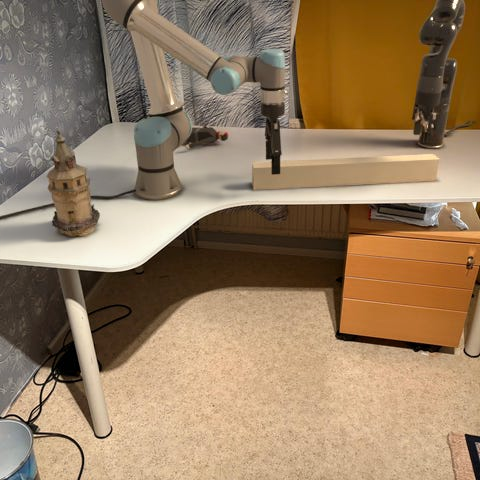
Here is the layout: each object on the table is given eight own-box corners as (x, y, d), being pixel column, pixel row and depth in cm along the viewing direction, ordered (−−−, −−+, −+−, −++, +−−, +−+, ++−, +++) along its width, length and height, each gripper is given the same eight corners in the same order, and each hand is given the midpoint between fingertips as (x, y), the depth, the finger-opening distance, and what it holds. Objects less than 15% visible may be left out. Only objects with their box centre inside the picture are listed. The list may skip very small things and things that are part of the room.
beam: (253, 190, 178) (253, 167, 174) (252, 184, 182) (251, 162, 178) (435, 180, 183) (439, 159, 179) (429, 175, 187) (433, 153, 183)
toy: (166, 118, 231) (234, 118, 225) (168, 133, 234) (235, 133, 228) (145, 138, 209) (219, 138, 203) (147, 153, 212) (221, 154, 206)
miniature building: (80, 214, 164) (63, 117, 149) (111, 225, 157) (96, 125, 142) (44, 231, 154) (22, 130, 140) (75, 244, 147) (55, 139, 133)
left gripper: (291, 112, 156) (290, 180, 166) (278, 91, 178) (278, 152, 188) (266, 114, 156) (266, 181, 166) (256, 93, 177) (257, 154, 188)
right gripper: (450, 94, 163) (441, 145, 171) (431, 83, 176) (423, 131, 184) (426, 95, 163) (418, 146, 171) (409, 84, 175) (402, 132, 183)
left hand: (272, 166), depth 177 cm, fingers open, 13 cm apart
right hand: (421, 138), depth 177 cm, fingers open, 8 cm apart
